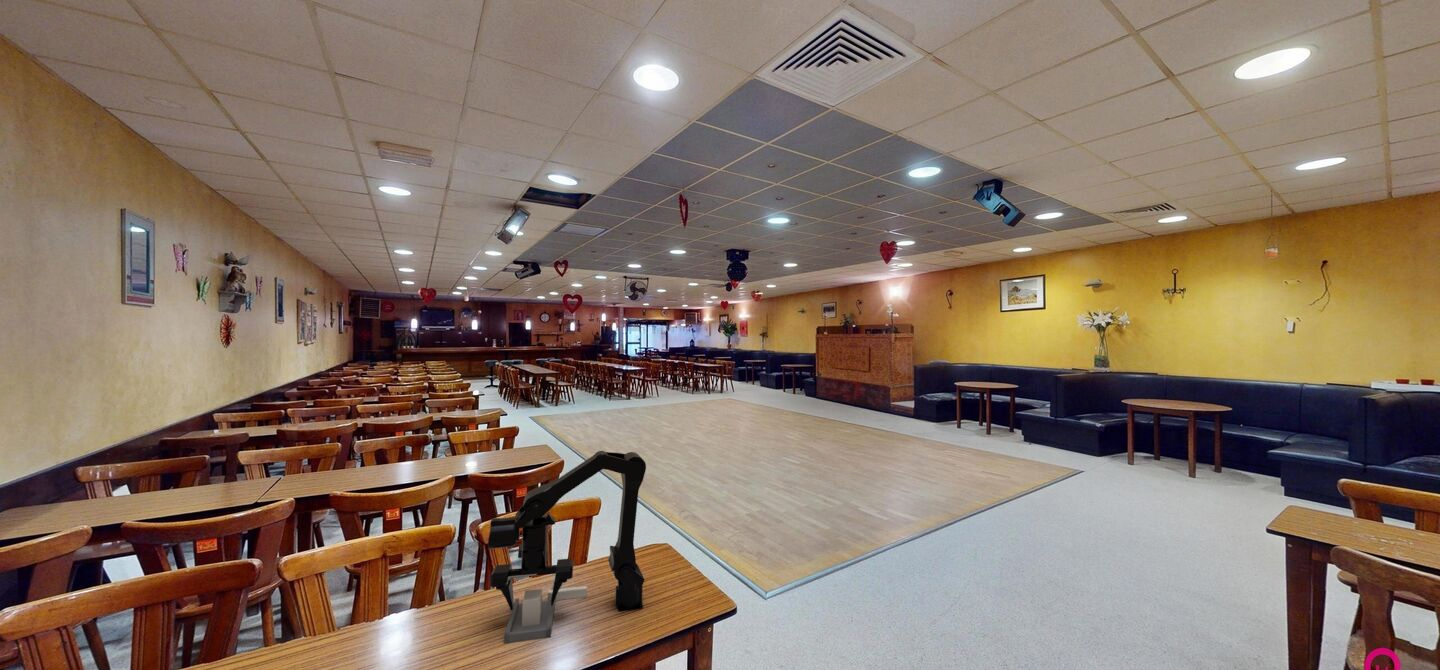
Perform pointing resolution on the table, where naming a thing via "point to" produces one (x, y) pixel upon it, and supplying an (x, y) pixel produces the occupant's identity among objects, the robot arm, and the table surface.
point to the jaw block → (532, 607)
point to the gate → (569, 593)
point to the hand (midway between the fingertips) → (532, 607)
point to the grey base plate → (531, 632)
